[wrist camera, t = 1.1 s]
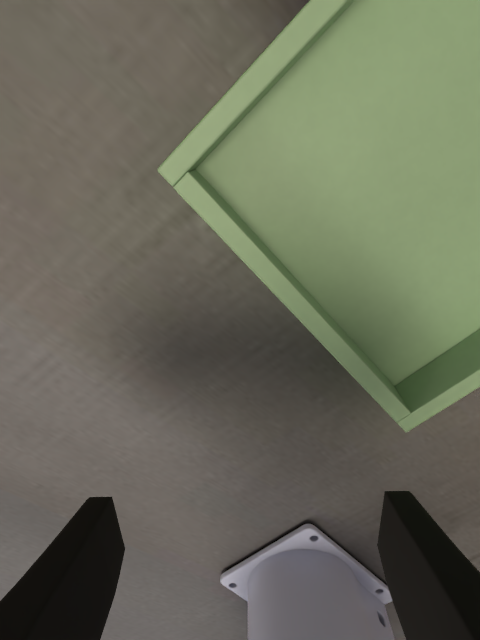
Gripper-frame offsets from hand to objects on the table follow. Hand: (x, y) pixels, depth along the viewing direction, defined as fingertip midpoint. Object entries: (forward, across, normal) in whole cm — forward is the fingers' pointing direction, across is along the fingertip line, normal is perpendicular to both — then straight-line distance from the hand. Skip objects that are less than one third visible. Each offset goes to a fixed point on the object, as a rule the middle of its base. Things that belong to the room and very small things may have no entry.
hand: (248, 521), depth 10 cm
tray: (+10, -8, -7) cm, 14 cm away
